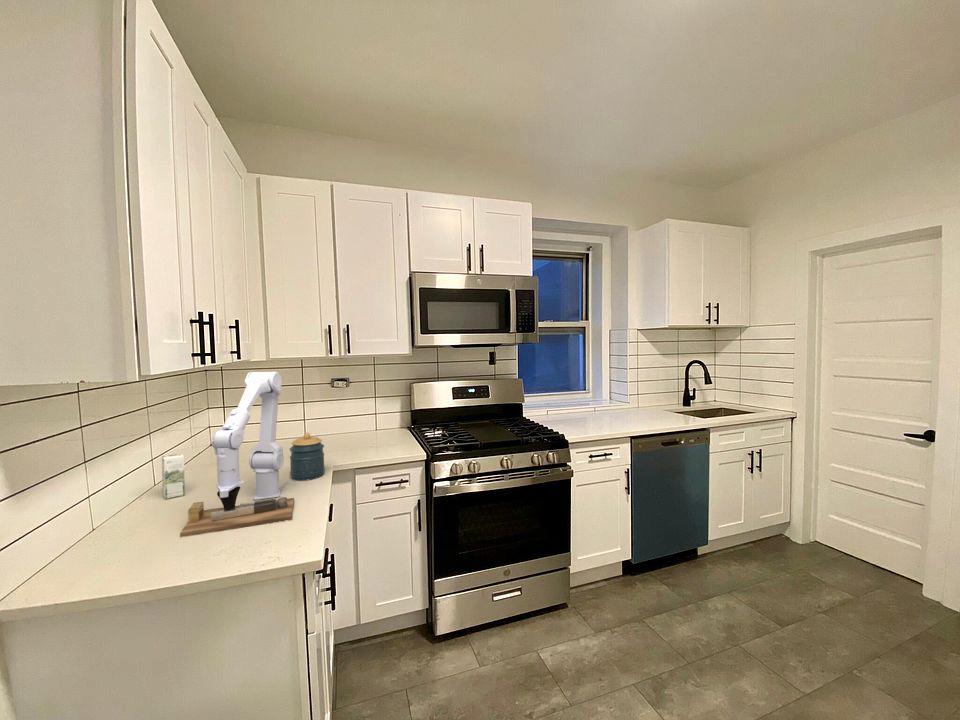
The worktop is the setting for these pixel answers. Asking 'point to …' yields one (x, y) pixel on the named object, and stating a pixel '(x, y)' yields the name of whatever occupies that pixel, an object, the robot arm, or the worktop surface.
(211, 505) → the worktop surface
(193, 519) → the wooden u-shaped block
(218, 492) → the robot arm
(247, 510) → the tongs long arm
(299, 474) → the canister
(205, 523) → the tong board
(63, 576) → the worktop surface
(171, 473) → the syrup box
